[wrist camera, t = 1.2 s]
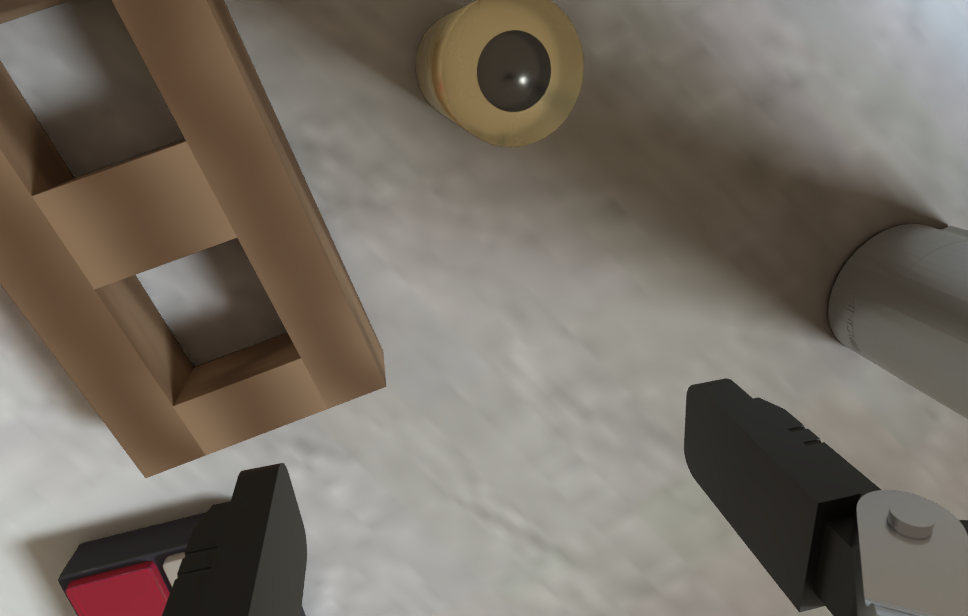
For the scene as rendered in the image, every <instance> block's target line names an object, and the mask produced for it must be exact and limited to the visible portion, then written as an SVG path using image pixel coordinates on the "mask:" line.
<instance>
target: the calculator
mask: <svg viewBox="0 0 968 616" xmlns="http://www.w3.org/2000/svg"><path fill="white" fill-rule="evenodd" d="M205 514H206V513H203V514H198V515H194V516H190V517H186V518H182V519H178V520H174V521H170V522H166V523H162V524H158V525H154V526H150V527H146V528H142V529H138V530H134V531H130V532H126V533H122V534H118V535H114V536H110V537H106V538H102V539H98V540H94V541H90V542H86V543H82V544H80V545H79V546H78V548H77V550H76V551H75V553H74V554H73V556H72V557H71V559H70V560H69V562H68V564H67V565H66V567H65V568H64V570H63V572H62V573H61V575H60V577H59V579H58V581H59V583H60V585H61V587H62V589H63V591H64V592H65V594H66V596H67V598H68V600H69V601H70V603H71V605H72V607H73V608H74V610H75V612H76V614H77V615H78V616H162V614H163V611H164V608H165V606H166V603H167V600H168V597H169V595H170V592H171V589H172V586H173V584H174V581H175V579H177V573H178V570H179V567H180V564H181V561H182V559H183V558H185V550H186V548H187V545H188V542H189V539H190V537H191V534H192V531H193V528H194V527H195V526H196V525H197V524H198V522H199V521H200V520H201V519H202V518H203V516H204V515H205ZM300 616H306V615H305V613H304V610H303V608H302V606H301V615H300Z"/></svg>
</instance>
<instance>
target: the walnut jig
mask: <svg viewBox="0 0 968 616" xmlns="http://www.w3.org/2000/svg"><path fill="white" fill-rule="evenodd" d="M66 1H69V0H0V24H1V23H4V22H7V21H10V20H13V19H16V18H19V17H22V16H25V15H28V14H31V13H34V12H37V11H40V10H43V9H46V8H49V7H52V6H55V5H58V4H61V3H63V2H66ZM112 2H113V4H114V6H115V8H116V10H117V11H118V13H119V15H120V17H121V19H122V21H123V23H124V25H125V27H126V28H127V30H128V32H129V34H130V36H131V38H132V40H133V42H134V44H135V45H136V47H137V49H138V51H139V53H140V55H141V57H142V59H143V61H144V62H145V64H146V66H147V68H148V70H149V72H150V74H151V76H152V78H153V79H154V81H155V83H156V85H157V87H158V89H159V91H160V93H161V95H162V96H163V98H164V100H165V102H166V104H167V106H168V108H169V110H170V112H171V113H172V115H173V117H174V119H175V121H176V123H177V125H178V127H179V129H180V130H181V132H182V134H183V136H184V138H185V139H184V140H181V141H178V142H175V143H173V144H170V145H167V146H164V147H161V148H158V149H156V150H153V151H150V152H147V153H144V154H141V155H139V156H136V157H133V158H130V159H127V160H124V161H122V162H119V163H116V164H113V165H110V166H107V167H105V168H102V169H99V170H96V171H93V172H91V173H88V174H85V175H82V176H79V177H76V178H74V177H73V175H72V174H71V172H70V170H69V169H68V167H67V166H66V164H65V163H64V161H63V159H62V158H61V156H60V155H59V153H58V151H57V150H56V148H55V147H54V145H53V143H52V142H51V140H50V139H49V137H48V136H47V134H46V132H45V131H44V129H43V128H42V126H41V124H40V123H39V121H38V120H37V118H36V116H35V115H34V113H33V112H32V110H31V109H30V107H29V105H28V104H27V102H26V101H25V99H24V97H23V96H22V94H21V93H20V91H19V90H18V88H17V86H16V85H15V83H14V82H13V80H12V78H11V77H10V75H9V74H8V72H7V70H6V69H5V67H4V66H3V64H2V63H1V61H0V284H1V285H2V287H3V288H4V289H5V291H6V292H7V293H8V295H9V296H10V297H11V299H12V300H13V301H14V303H15V304H16V305H17V307H18V308H19V309H20V311H21V312H22V313H23V315H24V316H25V317H26V319H27V320H28V321H29V323H30V324H31V325H32V327H33V328H34V329H35V331H36V332H37V333H38V335H39V336H40V337H41V339H42V340H43V341H44V343H45V344H46V345H47V347H48V348H49V350H50V351H51V352H52V354H53V355H54V356H55V358H56V359H57V360H58V362H59V363H60V364H61V366H62V367H63V368H64V370H65V371H66V372H67V374H68V375H69V376H70V378H71V379H72V380H73V382H74V383H75V384H76V386H77V387H78V388H79V390H80V391H81V392H82V394H83V395H84V396H85V398H86V399H87V400H88V402H89V403H90V404H91V406H92V407H93V408H94V410H95V411H96V412H97V414H98V415H99V416H100V418H101V419H102V420H103V422H104V423H105V424H106V426H107V427H108V429H109V430H110V431H111V433H112V434H113V435H114V437H115V438H116V439H117V441H118V442H119V443H120V445H121V446H122V447H123V449H124V450H125V451H126V453H127V454H128V455H129V457H130V458H131V459H132V461H133V462H134V463H135V465H136V466H137V467H138V469H139V470H140V471H141V473H142V474H143V475H144V477H145V478H148V477H150V476H153V475H156V474H158V473H161V472H163V471H166V470H169V469H171V468H174V467H177V466H179V465H182V464H184V463H187V462H190V461H192V460H195V459H197V458H200V457H203V456H205V455H208V454H211V453H213V452H216V451H218V450H221V449H224V448H226V447H229V446H232V445H234V444H237V443H239V442H242V441H245V440H247V439H250V438H253V437H255V436H258V435H260V434H263V433H266V432H268V431H271V430H274V429H276V428H279V427H281V426H284V425H287V424H289V423H292V422H295V421H297V420H300V419H302V418H305V417H308V416H310V415H313V414H315V413H318V412H321V411H323V410H326V409H329V408H331V407H334V406H336V405H339V404H342V403H344V402H347V401H350V400H352V399H355V398H357V397H360V396H363V395H365V394H368V393H371V392H373V391H376V390H378V389H381V388H384V387H386V379H385V367H384V355H383V350H382V348H381V346H380V344H379V341H378V339H377V337H376V335H375V333H374V330H373V328H372V326H371V324H370V322H369V319H368V317H367V315H366V313H365V310H364V308H363V306H362V304H361V302H360V299H359V297H358V295H357V293H356V291H355V288H354V286H353V284H352V282H351V280H350V277H349V275H348V273H347V271H346V269H345V266H344V264H343V262H342V260H341V258H340V255H339V253H338V251H337V249H336V247H335V244H334V242H333V240H332V238H331V236H330V233H329V231H328V229H327V227H326V225H325V222H324V220H323V218H322V216H321V214H320V211H319V209H318V207H317V205H316V203H315V200H314V198H313V196H312V194H311V192H310V189H309V187H308V185H307V183H306V181H305V178H304V176H303V174H302V172H301V170H300V167H299V165H298V163H297V161H296V159H295V156H294V154H293V152H292V150H291V148H290V145H289V143H288V141H287V139H286V137H285V134H284V132H283V130H282V128H281V126H280V123H279V121H278V119H277V117H276V115H275V112H274V110H273V108H272V106H271V103H270V101H269V99H268V97H267V95H266V92H265V90H264V88H263V86H262V84H261V81H260V79H259V77H258V75H257V73H256V70H255V68H254V66H253V64H252V62H251V59H250V57H249V55H248V53H247V51H246V48H245V46H244V44H243V42H242V40H241V37H240V35H239V33H238V31H237V29H236V26H235V24H234V22H233V20H232V18H231V15H230V13H229V11H228V9H227V7H226V4H225V2H224V0H112ZM235 238H238V240H239V242H240V244H241V246H242V247H243V249H244V251H245V253H246V255H247V257H248V259H249V261H250V263H251V264H252V266H253V268H254V270H255V272H256V274H257V276H258V278H259V280H260V281H261V283H262V285H263V287H264V289H265V291H266V293H267V295H268V297H269V298H270V300H271V302H272V304H273V306H274V308H275V310H276V312H277V314H278V315H279V317H280V319H281V321H282V323H283V325H284V327H285V329H286V331H287V332H288V333H285V334H282V335H280V336H277V337H274V338H272V339H269V340H266V341H264V342H261V343H258V344H255V345H253V346H250V347H247V348H245V349H242V350H239V351H237V352H234V353H231V354H229V355H226V356H223V357H221V358H218V359H215V360H213V361H210V362H207V363H205V364H202V365H199V366H197V367H193V366H192V364H191V363H190V361H189V359H188V358H187V356H186V355H185V353H184V351H183V350H182V348H181V347H180V345H179V343H178V342H177V340H176V339H175V337H174V336H173V334H172V332H171V331H170V329H169V328H168V326H167V324H166V323H165V321H164V320H163V318H162V317H161V315H160V313H159V312H158V310H157V309H156V307H155V305H154V304H153V302H152V301H151V299H150V297H149V296H148V294H147V293H146V291H145V290H144V288H143V286H142V285H141V283H140V282H139V280H138V278H137V277H136V274H138V273H141V272H144V271H147V270H149V269H152V268H155V267H158V266H160V265H163V264H166V263H169V262H171V261H174V260H177V259H180V258H182V257H185V256H188V255H191V254H193V253H196V252H199V251H202V250H204V249H207V248H210V247H213V246H215V245H218V244H221V243H224V242H226V241H229V240H232V239H235Z"/></svg>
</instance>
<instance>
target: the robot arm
mask: <svg viewBox="0 0 968 616" xmlns="http://www.w3.org/2000/svg"><path fill="white" fill-rule="evenodd" d="M828 316H829V322H830V327H831V329H832V331H833V333H834V335H835V337H836V338H837V339H838V340H839V341H840V342H841V343H842V344H843V345H845V346H846V347H848V348H850V349H851V350H853V351H855V352H856V353H858V354H860V355H861V356H863V357H865V358H866V359H868V360H870V361H871V362H873V363H875V364H876V365H878V366H880V367H881V368H883V369H885V370H886V371H888V372H890V373H891V374H893V375H894V376H896V377H898V378H899V379H901V380H903V381H904V382H906V383H908V384H909V385H911V386H913V387H914V388H916V389H918V390H919V391H921V392H923V393H924V394H926V395H928V396H930V397H931V398H933V399H935V400H936V401H938V402H940V403H941V404H943V405H945V406H946V407H948V408H950V409H951V410H953V411H955V412H956V413H958V414H960V415H962V416H963V417H965V418H967V419H968V230H964V229H960V228H957V227H953V226H949V227H946V228H944V229H936V228H933V227H929V226H926V225H922V224H905V225H899V226H895V227H893V228H890V229H887V230H885V231H883V232H881V233H879V234H878V235H876V236H874V237H872V238H871V239H870V240H868V241H867V242H866V243H865V244H863V245H862V246H861V247H860V248H859V249H858V250H857V251H856V252H855V253H854V254H853V255H852V256H851V257H850V259H849V260H848V261H847V262H846V264H845V265H844V267H843V268H842V270H841V271H840V273H839V275H838V277H837V279H836V281H835V284H834V286H833V288H832V292H831V296H830V300H829V311H828ZM684 453H685V458H686V462H687V465H688V468H689V470H690V472H691V474H692V476H693V477H694V479H695V480H696V481H697V483H698V484H699V485H700V487H701V488H702V489H703V490H704V492H705V493H706V494H707V495H708V497H709V498H710V499H711V501H712V502H713V503H714V504H715V506H716V507H717V508H718V509H719V511H720V512H721V513H722V515H723V516H724V517H725V518H726V520H727V521H728V522H729V523H730V525H731V526H732V527H733V529H734V530H735V531H736V532H737V534H738V535H739V536H740V537H741V539H742V540H743V541H744V542H745V544H746V545H747V546H748V548H749V549H750V550H751V551H752V553H753V554H754V555H755V556H756V558H757V559H758V560H759V562H760V563H761V564H762V565H763V567H764V568H765V569H766V570H767V572H768V573H769V574H770V576H771V577H772V578H773V579H774V581H775V582H776V583H777V584H778V586H779V587H780V588H781V590H782V591H783V592H784V593H785V595H786V596H787V597H788V598H789V600H790V601H791V602H792V603H793V605H794V606H795V607H796V609H797V610H798V611H799V612H803V611H807V610H811V609H815V608H818V607H822V606H826V607H827V608H828V610H829V611H830V612H831V613H832V614H833V616H968V520H958V519H957V518H956V517H955V516H954V515H953V514H952V513H950V512H949V511H948V510H946V509H945V508H943V507H942V506H940V505H939V504H937V503H935V502H933V501H931V500H929V499H926V498H924V497H921V496H918V495H915V494H912V493H908V492H903V491H897V490H881V489H880V488H878V487H877V486H876V485H875V484H874V483H872V482H871V481H870V480H869V479H868V478H866V477H865V476H864V475H863V474H862V473H860V472H859V471H858V470H857V469H856V468H854V467H853V466H852V465H851V464H850V463H848V462H847V461H846V460H845V459H844V458H842V457H841V456H840V455H839V454H838V453H836V452H835V451H834V450H833V449H832V448H830V447H829V446H828V445H827V444H826V443H824V442H823V443H821V441H820V438H818V437H817V436H816V435H815V434H814V433H812V432H811V431H810V430H809V429H805V428H804V425H803V424H802V423H800V422H799V421H798V420H797V419H796V418H794V417H793V416H792V415H791V414H790V413H788V412H787V411H786V410H785V409H783V408H781V407H778V406H776V405H774V404H772V403H770V402H768V401H765V400H763V399H761V398H754V399H753V398H752V397H750V396H749V395H748V394H747V393H746V392H745V391H744V390H742V389H741V388H740V387H739V386H738V385H737V384H736V383H734V382H733V381H732V380H730V379H721V380H715V381H710V382H705V383H700V384H695V385H691V386H690V387H689V388H688V391H687V397H686V417H685V437H684ZM306 562H307V544H306V535H305V529H304V525H303V521H302V518H301V514H300V511H299V508H298V504H297V501H296V497H295V494H294V490H293V487H292V484H291V480H290V477H289V473H288V470H287V468H286V466H285V464H284V463H280V464H275V465H270V466H264V467H259V468H254V469H249V470H244V471H241V472H240V474H239V476H238V479H237V482H236V486H235V489H234V492H233V496H232V499H231V502H226V503H221V504H216V505H213V506H212V507H211V508H210V509H209V511H208V512H207V513H206V514H205V515H204V516H203V518H202V519H201V520H200V521H199V522H198V524H197V525H196V526H195V527H194V528H193V531H192V534H191V537H190V539H189V542H188V545H187V548H186V550H185V558H183V559H182V561H181V564H180V567H179V570H178V573H177V579H175V581H174V584H173V586H172V589H171V592H170V595H169V597H168V600H167V603H166V606H165V608H164V611H163V614H162V616H300V615H301V606H302V597H303V588H304V580H305V571H306Z"/></svg>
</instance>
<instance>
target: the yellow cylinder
mask: <svg viewBox="0 0 968 616" xmlns="http://www.w3.org/2000/svg"><path fill="white" fill-rule="evenodd" d="M583 72H584V60H583V52H582V47H581V43H580V40H579V37H578V34H577V32H576V30H575V28H574V26H573V24H572V23H571V21H570V19H569V18H568V17H567V16H566V14H565V13H564V12H563V11H562V10H561V9H560V8H559V7H558V6H557V5H556V4H554V3H553V2H552V1H550V0H477V1H475V2H473V3H471V4H468V5H466V6H464V7H462V8H460V9H458V10H456V11H454V12H452V13H450V14H448V15H446V16H444V17H442V18H441V19H439V20H437V21H436V22H435V23H434V24H433V25H432V26H431V27H430V28H429V29H428V30H427V32H426V33H425V34H424V36H423V38H422V40H421V42H420V44H419V47H418V50H417V55H416V76H417V80H418V84H419V87H420V89H421V91H422V93H423V95H424V97H425V98H426V100H427V101H428V102H429V103H430V104H431V105H432V106H433V108H435V109H436V110H437V111H438V112H440V113H441V114H443V115H444V116H446V117H447V118H449V119H450V120H452V121H453V122H455V123H456V124H458V125H459V126H461V127H462V128H464V129H465V130H467V131H468V132H470V133H471V134H472V135H474V136H476V137H477V138H479V139H481V140H483V141H485V142H487V143H490V144H493V145H497V146H503V147H520V146H526V145H529V144H532V143H535V142H537V141H540V140H542V139H543V138H545V137H547V136H548V135H550V134H551V133H552V132H554V131H555V130H556V129H557V128H558V127H559V126H560V125H561V124H562V123H563V122H564V121H565V120H566V118H567V117H568V116H569V114H570V113H571V111H572V109H573V108H574V106H575V103H576V101H577V99H578V96H579V93H580V90H581V86H582V81H583Z"/></svg>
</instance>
